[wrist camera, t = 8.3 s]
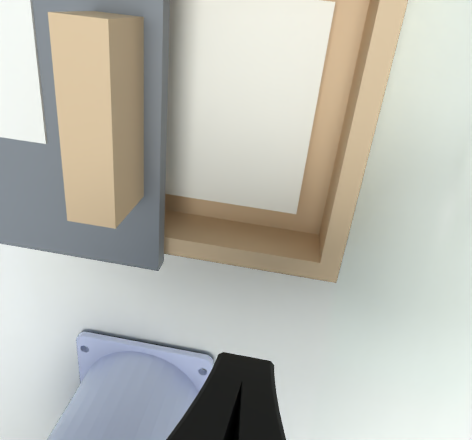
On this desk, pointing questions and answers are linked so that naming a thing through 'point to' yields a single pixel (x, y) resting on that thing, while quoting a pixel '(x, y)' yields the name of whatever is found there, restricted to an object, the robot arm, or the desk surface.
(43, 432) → the desk surface
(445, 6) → the desk surface
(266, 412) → the robot arm
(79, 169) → the lid
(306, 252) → the kraft box
